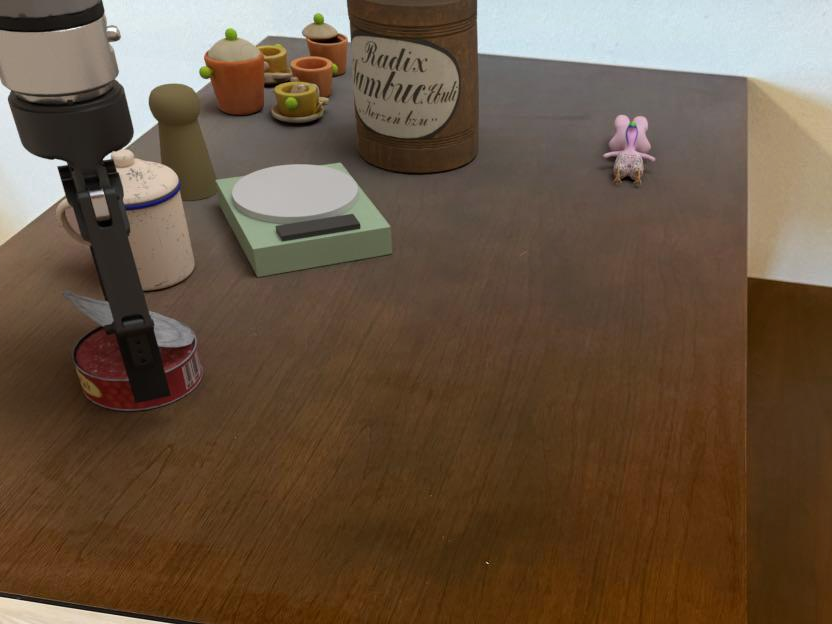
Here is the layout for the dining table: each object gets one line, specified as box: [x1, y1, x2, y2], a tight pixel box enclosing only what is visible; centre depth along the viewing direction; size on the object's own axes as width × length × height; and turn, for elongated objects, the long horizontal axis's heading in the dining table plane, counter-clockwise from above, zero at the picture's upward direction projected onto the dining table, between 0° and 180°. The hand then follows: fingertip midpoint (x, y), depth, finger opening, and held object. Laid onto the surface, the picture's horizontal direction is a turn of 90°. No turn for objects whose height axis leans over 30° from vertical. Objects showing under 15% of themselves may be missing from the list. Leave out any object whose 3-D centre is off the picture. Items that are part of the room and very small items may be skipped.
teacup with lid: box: [55, 148, 196, 292], centre depth 91 cm, size 12×9×12 cm
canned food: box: [61, 288, 204, 412], centre depth 80 cm, size 11×10×10 cm
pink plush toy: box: [602, 114, 656, 185], centre depth 117 cm, size 6×6×15 cm
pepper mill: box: [148, 83, 218, 202], centre depth 105 cm, size 6×6×11 cm
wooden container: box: [346, 0, 480, 174], centre depth 112 cm, size 15×15×22 cm
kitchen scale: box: [215, 162, 393, 278], centre depth 101 cm, size 17×14×4 cm
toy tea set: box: [198, 12, 349, 124], centre depth 129 cm, size 26×16×10 cm, turn 174°
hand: (138, 353), depth 80 cm, fingers open, 13 cm apart
